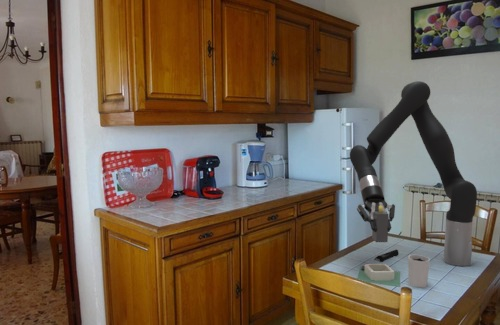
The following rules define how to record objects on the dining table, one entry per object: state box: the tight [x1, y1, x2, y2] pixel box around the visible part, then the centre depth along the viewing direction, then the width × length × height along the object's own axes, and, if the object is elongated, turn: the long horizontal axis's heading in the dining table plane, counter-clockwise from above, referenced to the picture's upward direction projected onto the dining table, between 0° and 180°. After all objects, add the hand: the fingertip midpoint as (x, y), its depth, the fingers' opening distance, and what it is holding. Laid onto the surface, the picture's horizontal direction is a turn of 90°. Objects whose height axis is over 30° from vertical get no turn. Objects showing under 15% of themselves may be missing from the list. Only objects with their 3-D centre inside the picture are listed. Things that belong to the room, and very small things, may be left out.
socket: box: [364, 263, 395, 281], centre depth 138 cm, size 8×8×3 cm
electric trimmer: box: [373, 249, 399, 263], centre depth 158 cm, size 4×15×3 cm, turn 130°
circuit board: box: [356, 265, 401, 288], centre depth 138 cm, size 14×14×2 cm
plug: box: [371, 206, 389, 243], centre depth 136 cm, size 4×4×12 cm
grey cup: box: [407, 254, 431, 288], centre depth 131 cm, size 7×7×10 cm
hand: (382, 230), depth 134 cm, fingers closed on plug, 4 cm apart
